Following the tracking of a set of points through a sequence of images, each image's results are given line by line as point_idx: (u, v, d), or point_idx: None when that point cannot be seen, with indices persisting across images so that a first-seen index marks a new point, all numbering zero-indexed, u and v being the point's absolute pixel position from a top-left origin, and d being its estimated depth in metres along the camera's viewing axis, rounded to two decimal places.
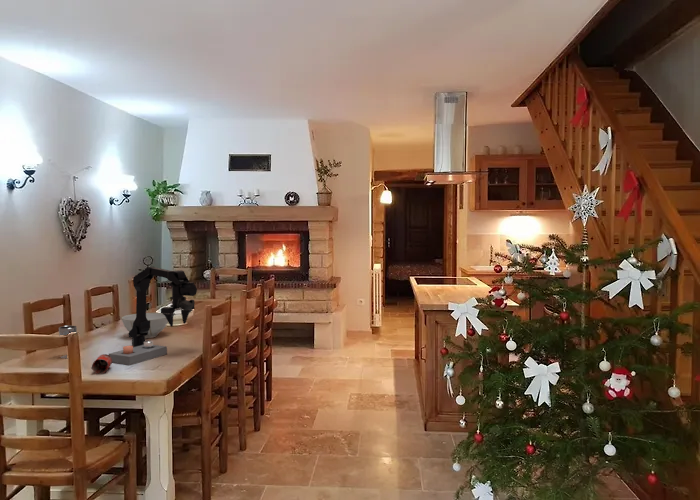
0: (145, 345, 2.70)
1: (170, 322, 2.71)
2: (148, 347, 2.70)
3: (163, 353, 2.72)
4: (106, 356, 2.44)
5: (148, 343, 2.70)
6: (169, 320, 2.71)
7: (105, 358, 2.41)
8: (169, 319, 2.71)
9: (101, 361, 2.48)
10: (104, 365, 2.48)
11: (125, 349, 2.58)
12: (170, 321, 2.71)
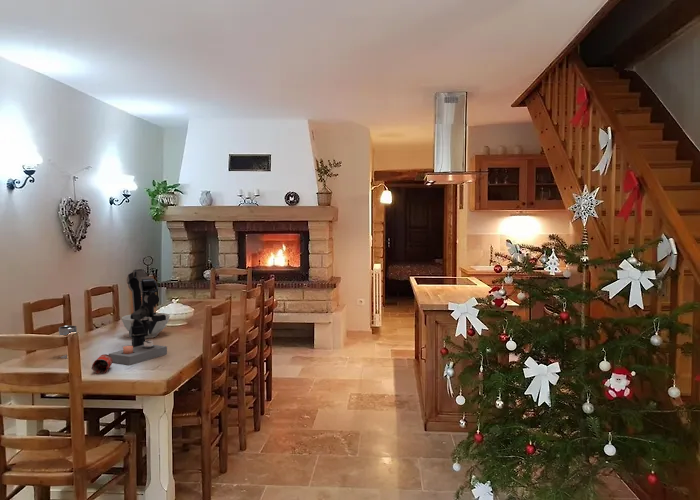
0: (145, 345, 2.70)
1: None
2: (148, 347, 2.70)
3: (163, 353, 2.72)
4: (106, 356, 2.44)
5: (148, 343, 2.70)
6: None
7: (105, 358, 2.41)
8: None
9: (102, 361, 2.47)
10: (105, 365, 2.48)
11: (125, 349, 2.58)
12: None
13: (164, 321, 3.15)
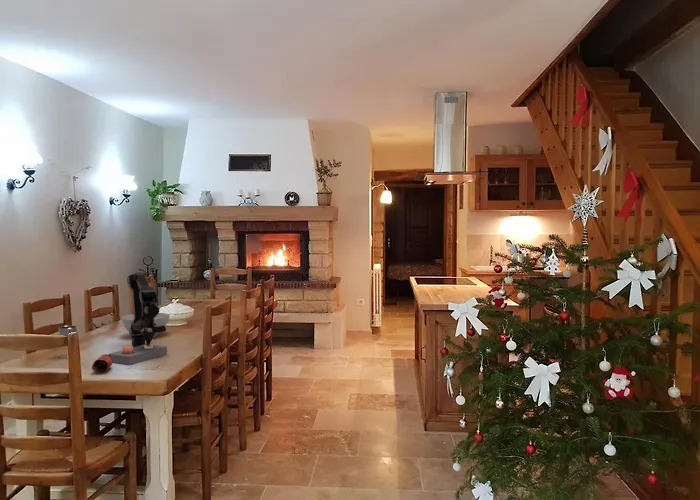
0: (145, 348, 2.70)
1: None
2: None
3: (163, 353, 2.72)
4: (107, 356, 2.43)
5: (148, 346, 2.70)
6: None
7: (105, 358, 2.40)
8: None
9: (102, 361, 2.47)
10: (105, 365, 2.48)
11: (125, 349, 2.58)
12: None
13: (164, 321, 3.15)
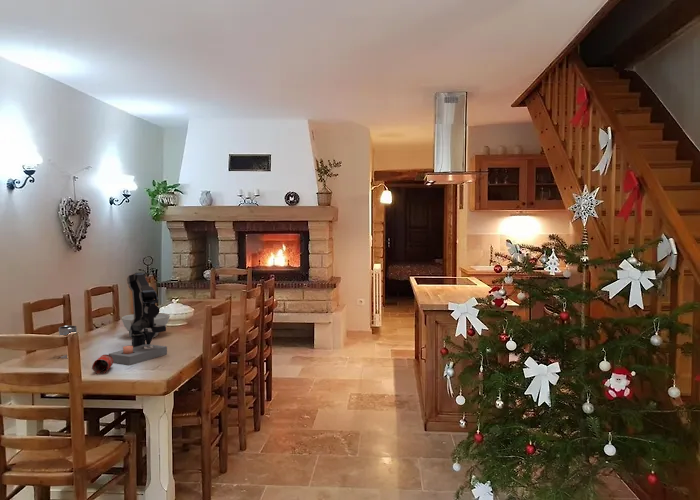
0: None
1: None
2: None
3: (163, 353, 2.72)
4: (107, 356, 2.43)
5: (148, 348, 2.70)
6: None
7: (106, 358, 2.40)
8: None
9: (103, 361, 2.47)
10: (106, 365, 2.48)
11: (125, 349, 2.58)
12: None
13: (164, 321, 3.15)
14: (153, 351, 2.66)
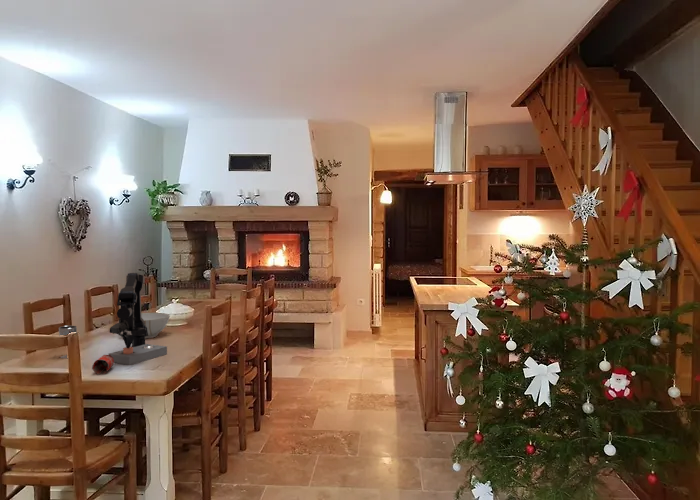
0: None
1: None
2: None
3: (163, 353, 2.72)
4: (108, 356, 2.43)
5: (148, 348, 2.70)
6: None
7: (106, 358, 2.40)
8: None
9: (103, 361, 2.47)
10: (106, 365, 2.47)
11: (125, 350, 2.58)
12: None
13: (164, 321, 3.15)
14: (153, 351, 2.66)
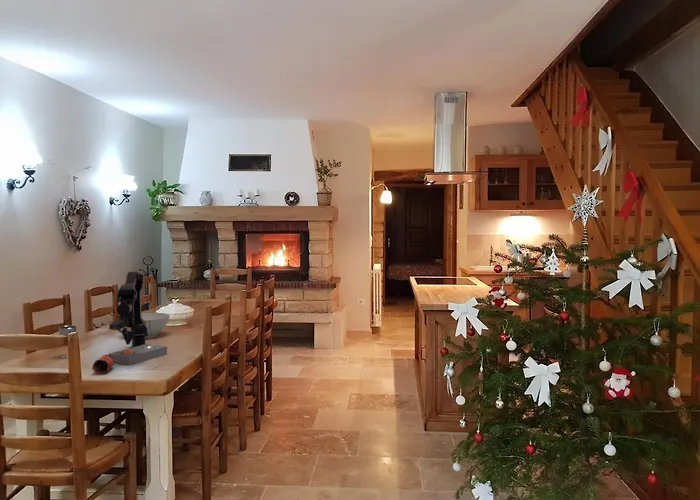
0: None
1: None
2: None
3: (163, 353, 2.72)
4: (108, 356, 2.43)
5: (148, 348, 2.70)
6: None
7: (106, 359, 2.40)
8: None
9: (104, 361, 2.47)
10: (107, 365, 2.47)
11: (125, 353, 2.58)
12: None
13: (164, 321, 3.15)
14: (153, 351, 2.66)
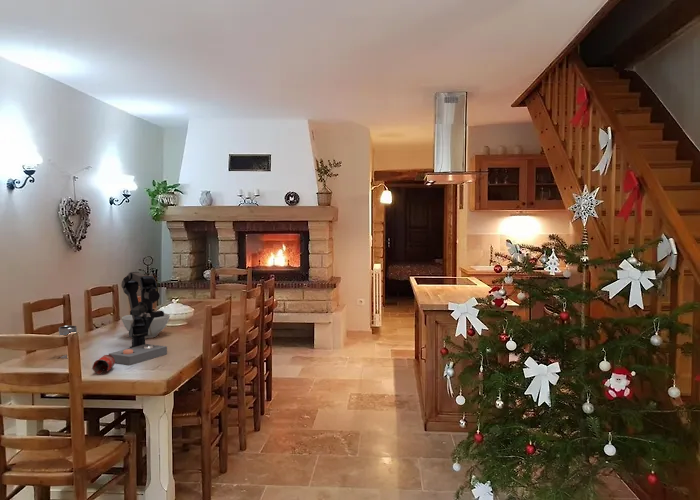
0: None
1: None
2: None
3: (163, 353, 2.72)
4: (108, 357, 2.43)
5: (148, 348, 2.70)
6: None
7: (106, 359, 2.40)
8: None
9: (104, 361, 2.47)
10: (107, 365, 2.47)
11: (125, 353, 2.58)
12: None
13: (164, 321, 3.15)
14: (153, 351, 2.66)
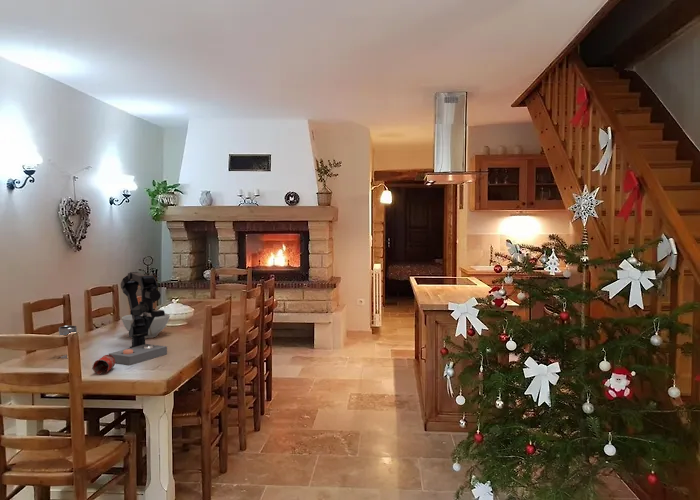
0: None
1: None
2: None
3: (163, 353, 2.72)
4: (108, 357, 2.42)
5: (148, 348, 2.70)
6: None
7: (106, 359, 2.39)
8: None
9: (105, 361, 2.47)
10: (108, 366, 2.47)
11: (125, 353, 2.58)
12: None
13: (164, 321, 3.15)
14: (153, 351, 2.66)
